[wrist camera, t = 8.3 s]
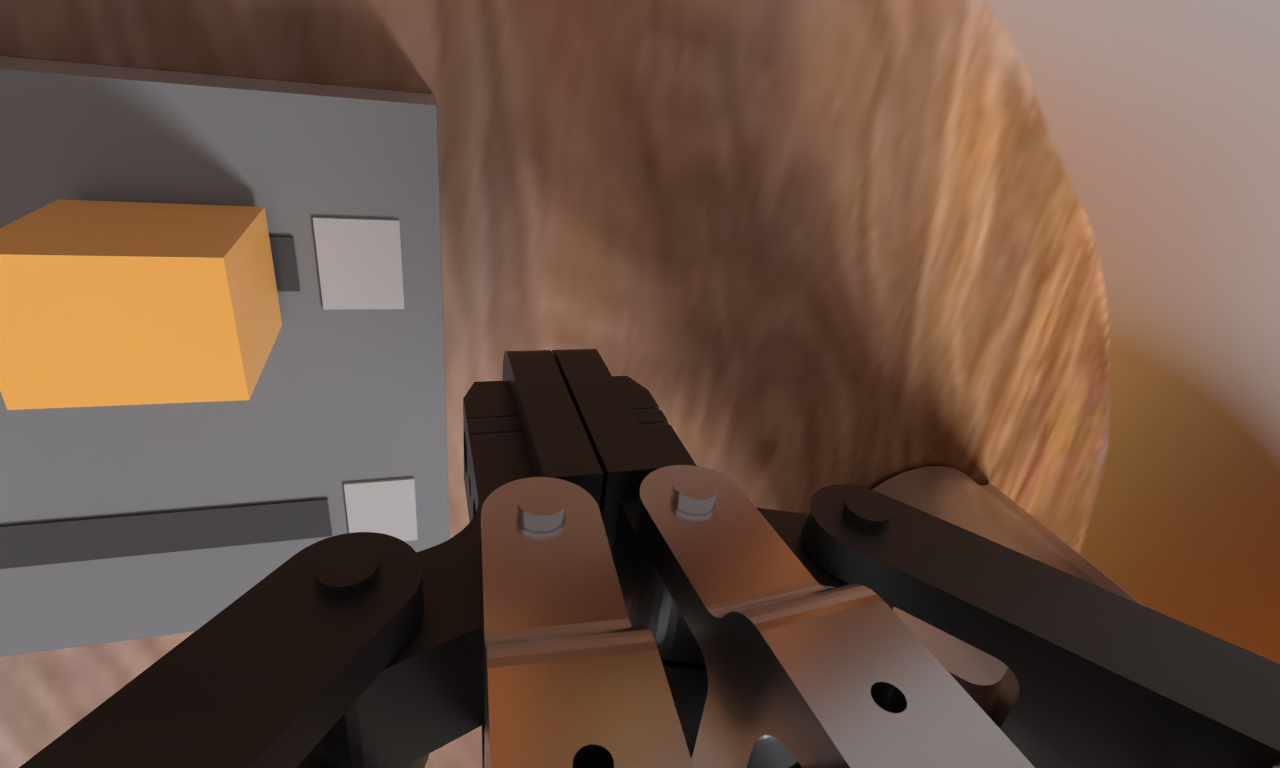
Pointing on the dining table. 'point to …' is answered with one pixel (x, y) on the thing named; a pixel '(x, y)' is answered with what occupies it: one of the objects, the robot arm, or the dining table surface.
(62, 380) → the slider
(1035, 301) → the dining table surface
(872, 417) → the dining table surface
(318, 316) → the switch panel
